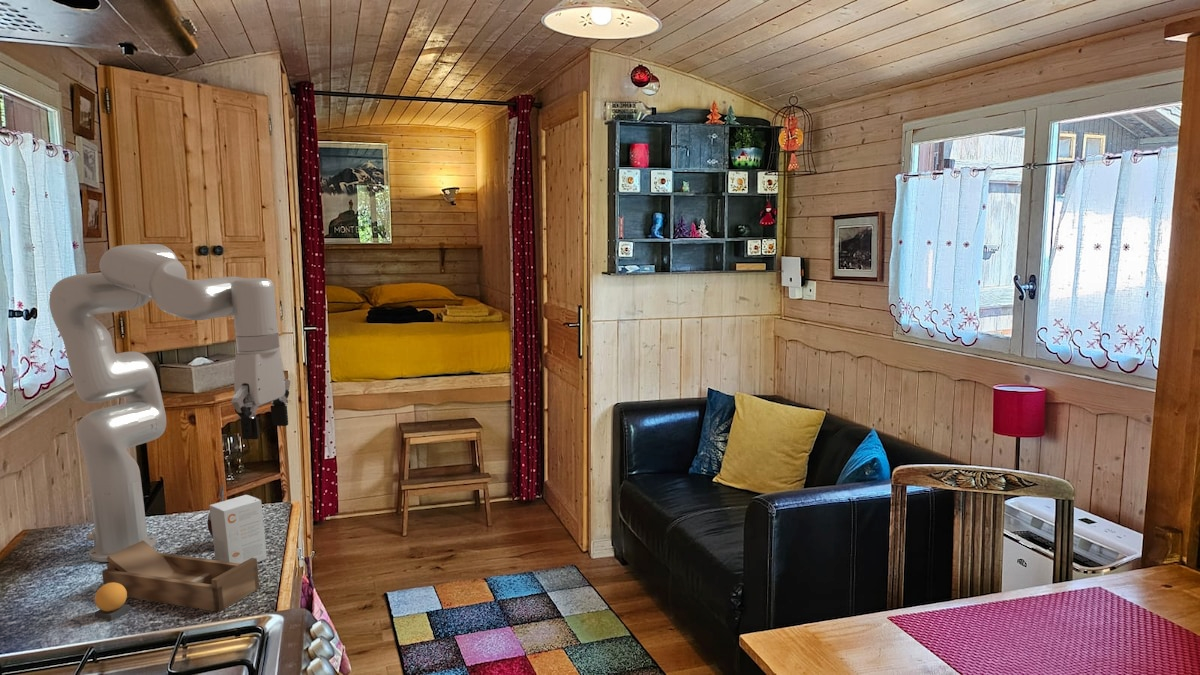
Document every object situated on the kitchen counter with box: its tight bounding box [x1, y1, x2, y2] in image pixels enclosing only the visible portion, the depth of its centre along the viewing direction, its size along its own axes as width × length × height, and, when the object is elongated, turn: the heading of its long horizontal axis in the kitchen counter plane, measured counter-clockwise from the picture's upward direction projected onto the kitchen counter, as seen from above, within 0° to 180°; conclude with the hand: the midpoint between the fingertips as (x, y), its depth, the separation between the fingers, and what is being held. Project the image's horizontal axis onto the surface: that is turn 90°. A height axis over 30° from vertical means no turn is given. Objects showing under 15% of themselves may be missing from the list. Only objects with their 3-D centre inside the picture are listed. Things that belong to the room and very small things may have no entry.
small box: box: [209, 494, 268, 564], centre depth 169 cm, size 8×6×13 cm
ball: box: [94, 582, 128, 611], centre depth 148 cm, size 5×5×5 cm
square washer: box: [93, 603, 132, 621], centre depth 148 cm, size 4×4×1 cm
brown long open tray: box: [101, 540, 260, 613], centre depth 157 cm, size 28×10×7 cm, turn 71°
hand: (266, 431), depth 157 cm, fingers open, 9 cm apart
